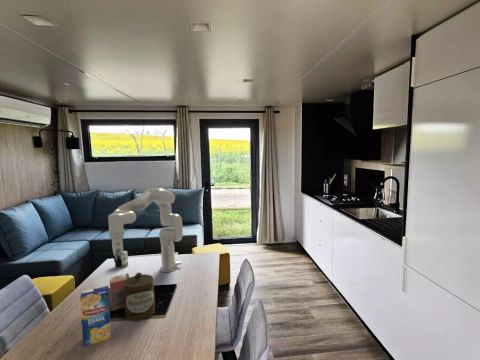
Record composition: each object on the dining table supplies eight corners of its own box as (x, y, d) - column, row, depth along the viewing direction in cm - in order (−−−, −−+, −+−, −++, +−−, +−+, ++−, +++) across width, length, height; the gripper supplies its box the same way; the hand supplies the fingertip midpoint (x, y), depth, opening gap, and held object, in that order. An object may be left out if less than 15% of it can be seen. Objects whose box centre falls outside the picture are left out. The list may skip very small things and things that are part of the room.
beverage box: (84, 337, 120) (81, 291, 118) (110, 330, 125) (108, 285, 123) (82, 346, 114) (80, 298, 112) (110, 338, 119) (108, 292, 117)
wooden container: (126, 324, 129) (124, 281, 127) (124, 309, 142) (122, 270, 140) (157, 316, 136) (155, 275, 134) (152, 302, 149) (151, 265, 147)
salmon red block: (127, 294, 154) (126, 276, 154) (128, 297, 151) (127, 279, 150) (110, 299, 150) (109, 280, 149) (110, 302, 146) (110, 283, 145)
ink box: (128, 265, 205) (127, 250, 204) (125, 267, 200) (124, 252, 199) (118, 265, 206) (117, 250, 205) (114, 267, 201) (113, 252, 200)
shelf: (128, 288, 167) (128, 271, 166) (134, 304, 147) (133, 285, 146) (108, 293, 161) (107, 276, 160) (110, 311, 141) (109, 291, 140)
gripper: (125, 237, 143) (127, 267, 144) (122, 230, 157) (123, 258, 159) (110, 239, 139) (112, 270, 140) (108, 232, 154) (109, 260, 155)
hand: (118, 264), depth 149 cm, fingers open, 9 cm apart
